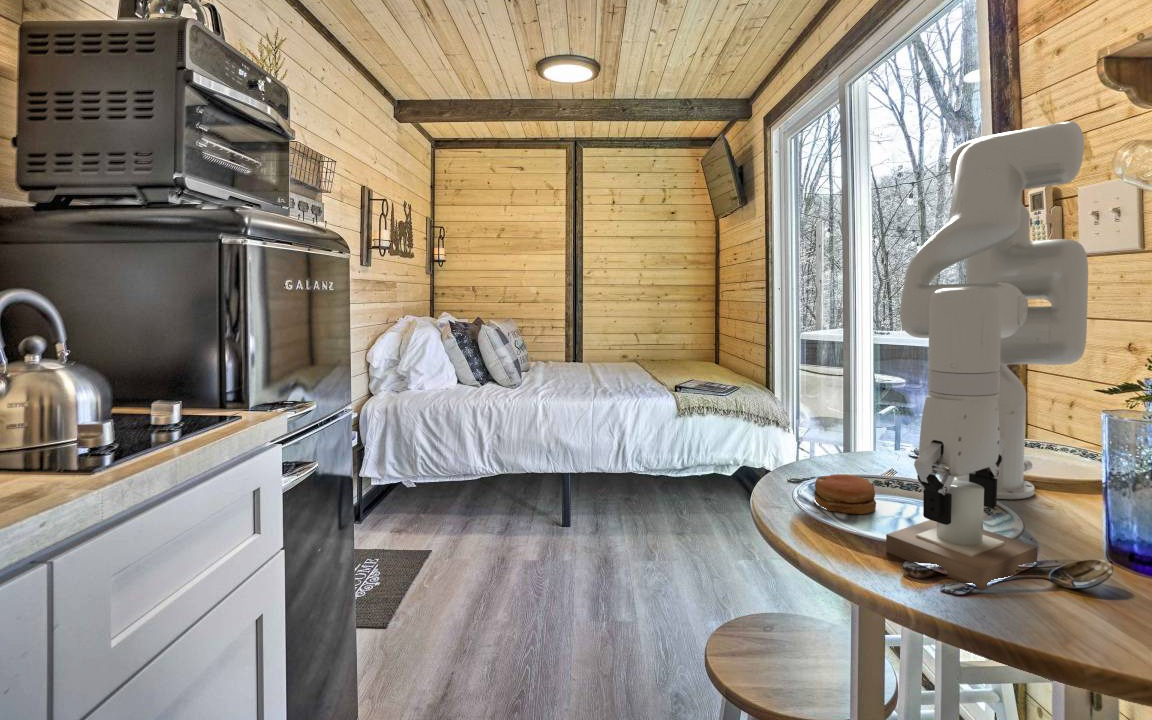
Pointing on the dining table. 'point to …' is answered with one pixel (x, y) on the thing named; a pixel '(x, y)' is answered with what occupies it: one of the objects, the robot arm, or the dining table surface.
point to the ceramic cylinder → (964, 515)
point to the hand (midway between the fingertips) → (960, 512)
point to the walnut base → (961, 553)
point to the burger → (845, 494)
